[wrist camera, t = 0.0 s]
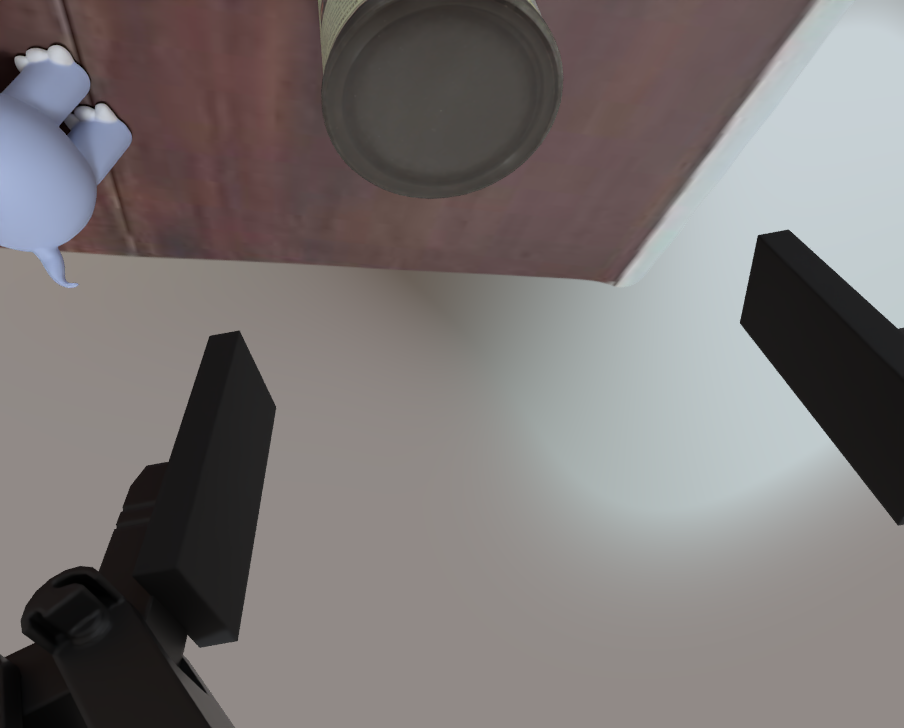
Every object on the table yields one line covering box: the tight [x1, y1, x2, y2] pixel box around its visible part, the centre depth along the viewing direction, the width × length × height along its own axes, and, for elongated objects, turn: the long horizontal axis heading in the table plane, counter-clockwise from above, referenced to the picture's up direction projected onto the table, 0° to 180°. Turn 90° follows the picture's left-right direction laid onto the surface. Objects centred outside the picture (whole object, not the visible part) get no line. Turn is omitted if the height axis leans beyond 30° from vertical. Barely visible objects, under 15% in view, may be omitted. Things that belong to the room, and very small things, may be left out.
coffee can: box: [318, 0, 563, 199], centre depth 30 cm, size 10×10×14 cm
